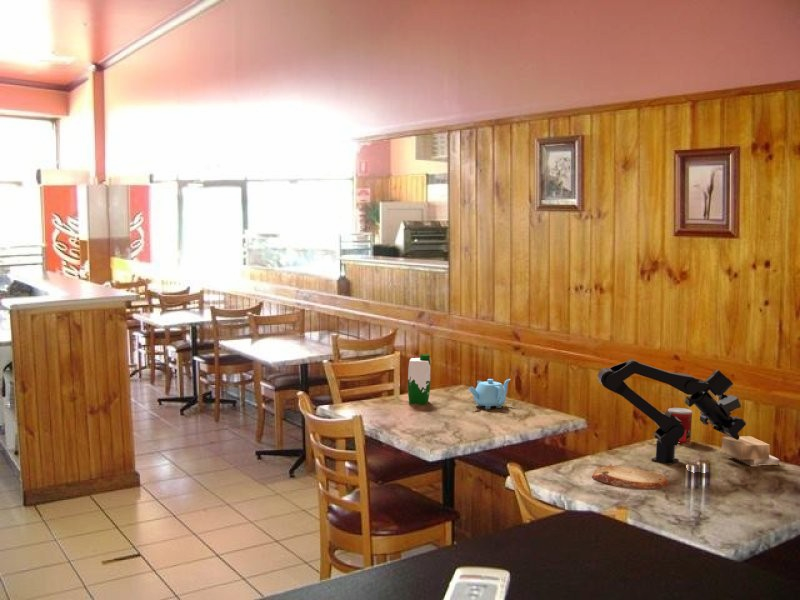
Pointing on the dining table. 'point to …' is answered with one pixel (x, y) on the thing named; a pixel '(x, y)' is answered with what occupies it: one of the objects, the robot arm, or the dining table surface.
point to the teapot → (490, 393)
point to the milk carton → (419, 379)
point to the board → (759, 460)
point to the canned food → (683, 421)
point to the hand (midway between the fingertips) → (738, 438)
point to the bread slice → (629, 477)
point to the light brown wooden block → (746, 448)
